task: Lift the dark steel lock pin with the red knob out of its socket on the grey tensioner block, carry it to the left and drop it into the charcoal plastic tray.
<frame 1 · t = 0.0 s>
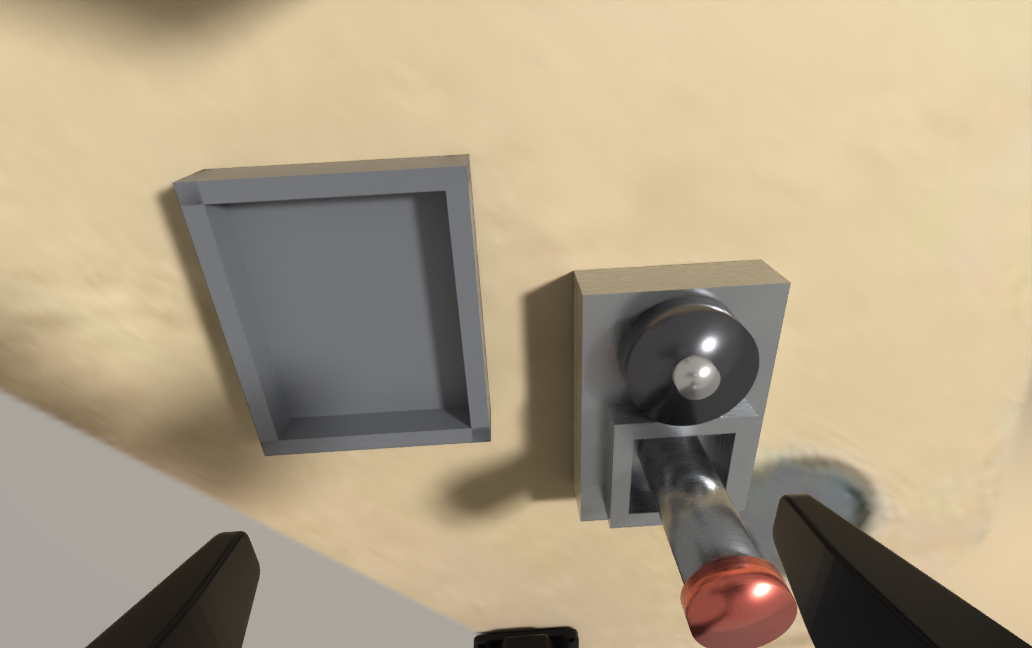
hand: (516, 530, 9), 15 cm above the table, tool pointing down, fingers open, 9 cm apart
tray: (364, 305, 23), on the table
tensioner block: (657, 383, 26), on the table
lock pin: (669, 451, 24), point 2 cm above the table, touching tensioner block
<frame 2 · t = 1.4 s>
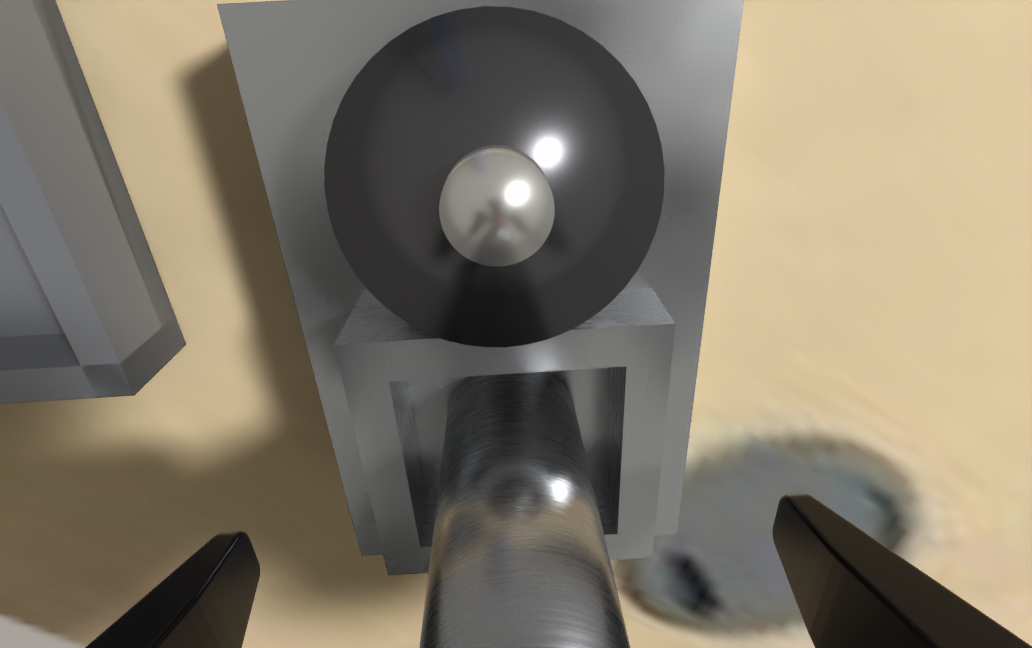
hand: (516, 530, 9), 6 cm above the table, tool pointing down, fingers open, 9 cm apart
tensioner block: (503, 288, 13), on the table
lock pin: (511, 417, 12), point 2 cm above the table, touching tensioner block
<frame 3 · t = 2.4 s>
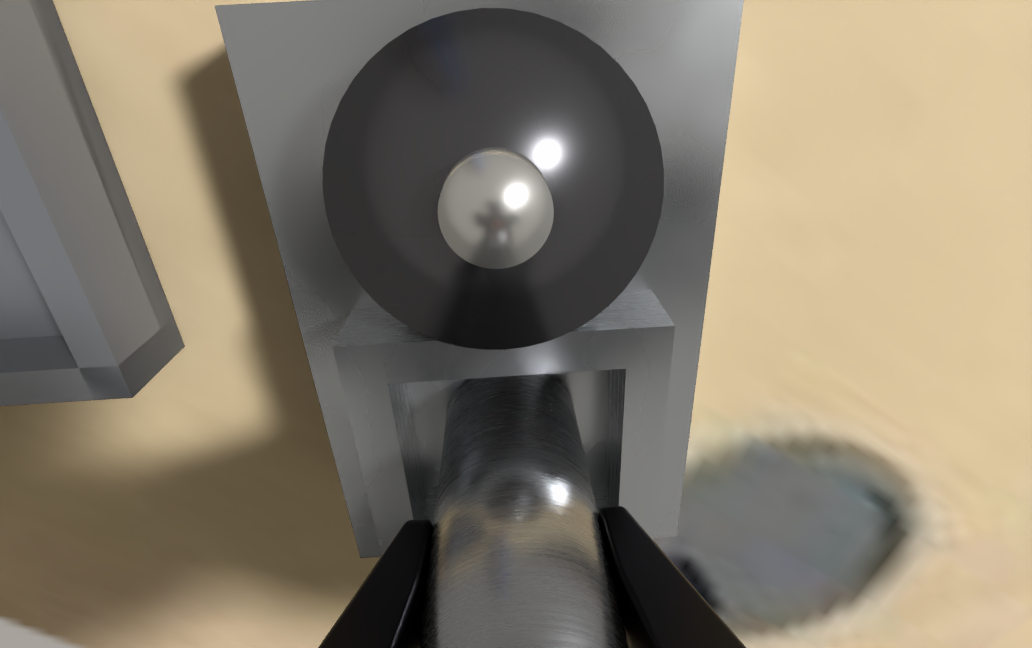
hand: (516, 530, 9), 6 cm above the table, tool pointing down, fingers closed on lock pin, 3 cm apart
tensioner block: (503, 289, 13), on the table
lock pin: (510, 419, 12), point 2 cm above the table, touching gripper, tensioner block
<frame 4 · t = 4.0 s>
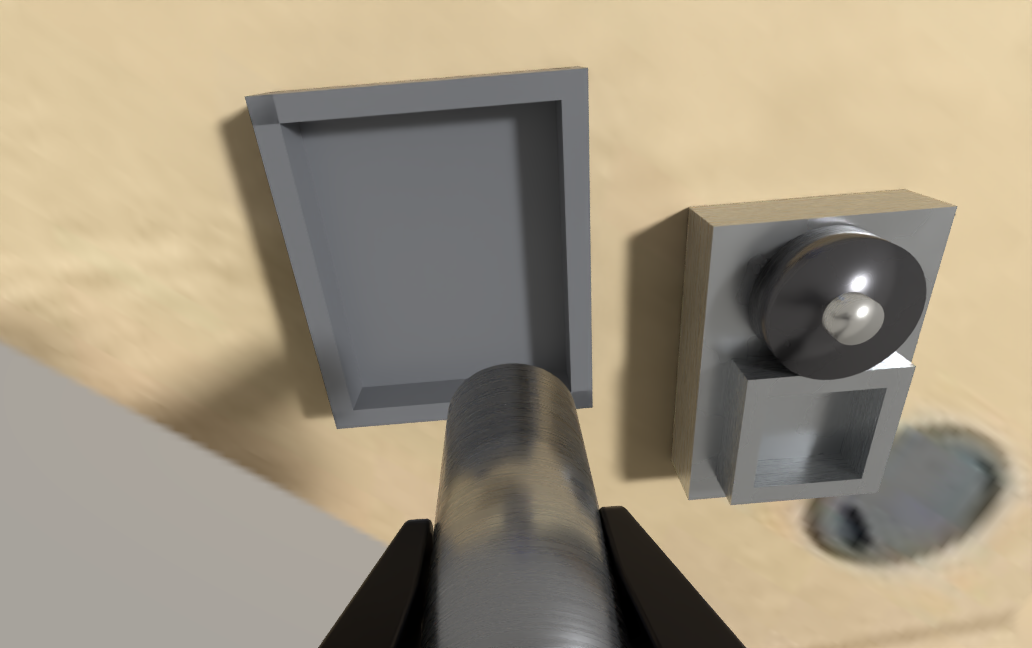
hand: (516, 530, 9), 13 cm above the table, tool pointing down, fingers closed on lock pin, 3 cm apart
tray: (448, 253, 20), on the table
tensioner block: (774, 341, 23), on the table
lock pin: (512, 418, 12), point 10 cm above the table, touching gripper
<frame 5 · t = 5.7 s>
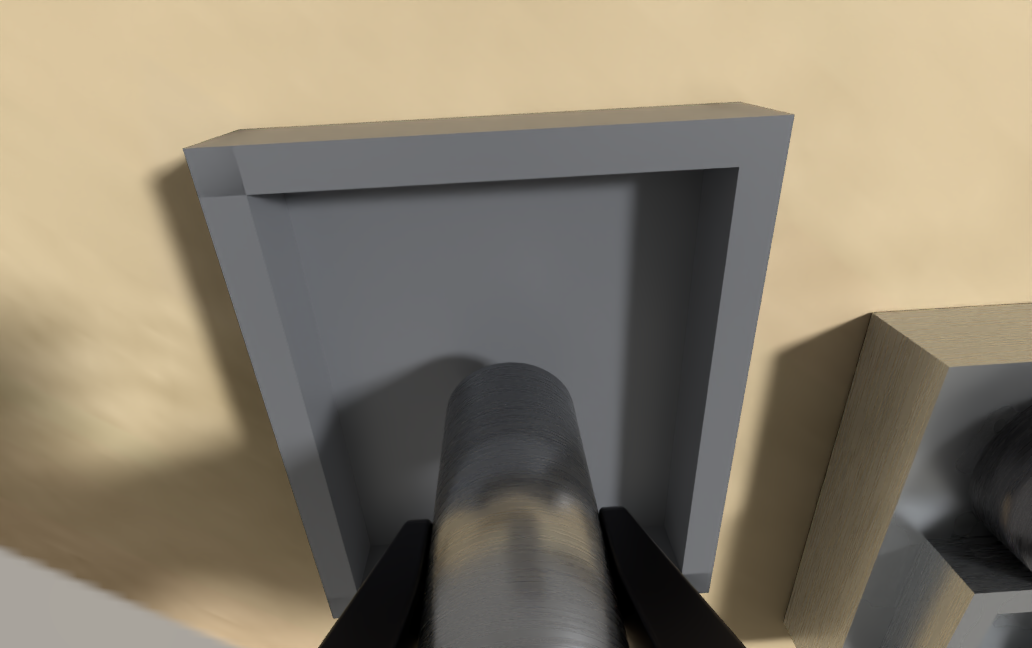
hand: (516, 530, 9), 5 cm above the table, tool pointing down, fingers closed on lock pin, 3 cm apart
tray: (507, 370, 14), on the table
tensioner block: (953, 485, 16), on the table
lock pin: (510, 417, 12), point 2 cm above the table, touching gripper
when the fingers open (5 cm above the table, at t = 5.9 s): lock pin drops 1 cm, resting on tray.
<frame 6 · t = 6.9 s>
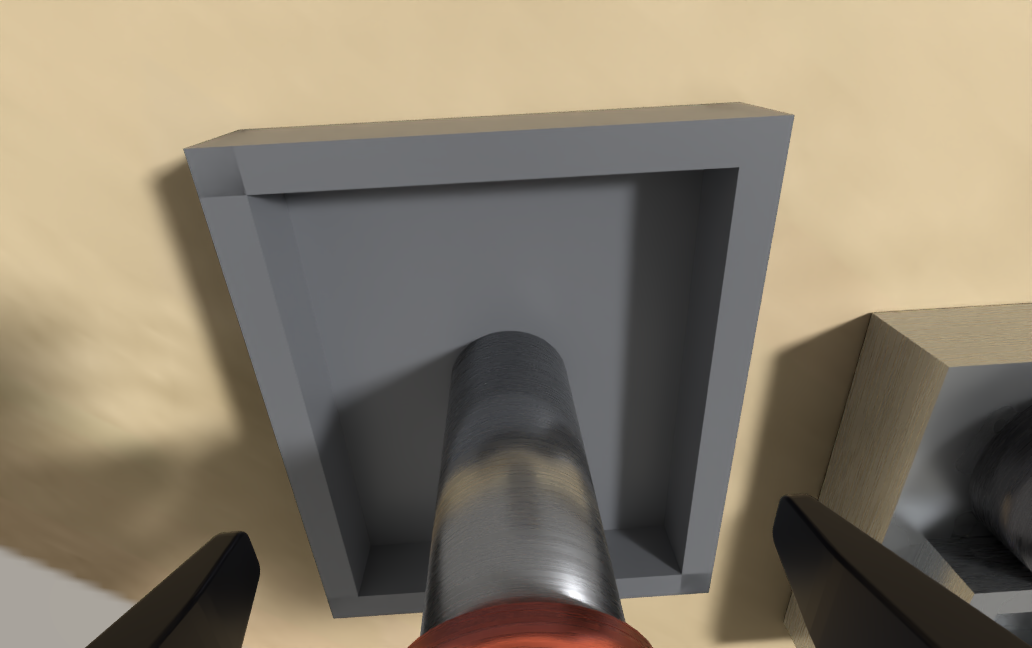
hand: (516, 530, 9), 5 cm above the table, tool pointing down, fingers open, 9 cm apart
tray: (507, 370, 14), on the table
tensioner block: (953, 485, 16), on the table
lock pin: (509, 382, 13), point 1 cm above the table, touching tray
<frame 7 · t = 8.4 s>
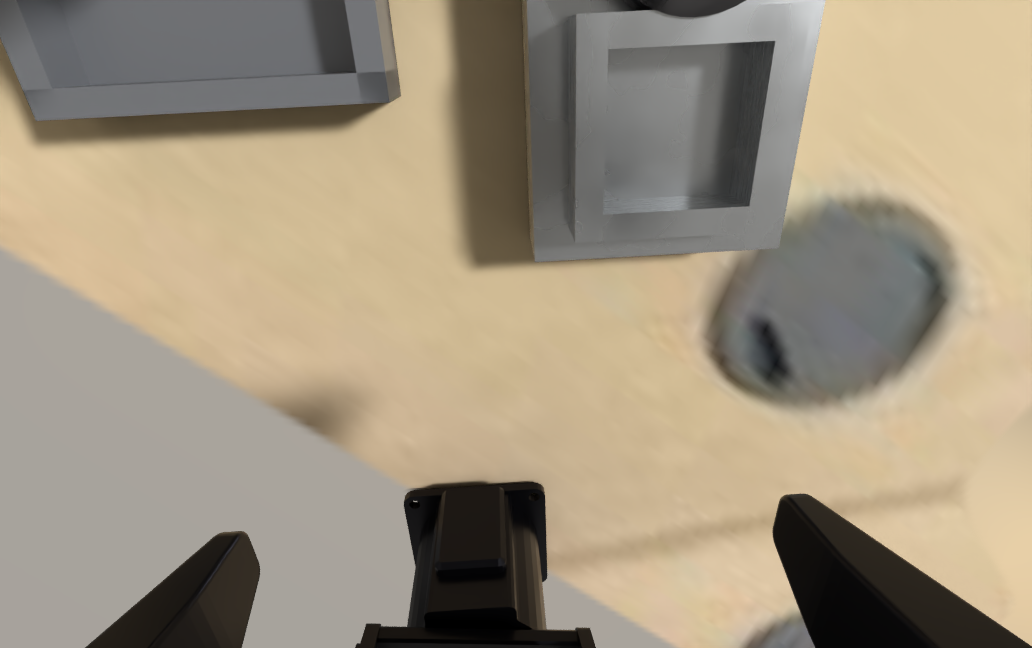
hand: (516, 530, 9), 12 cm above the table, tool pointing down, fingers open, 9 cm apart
tensioner block: (649, 48, 17), on the table
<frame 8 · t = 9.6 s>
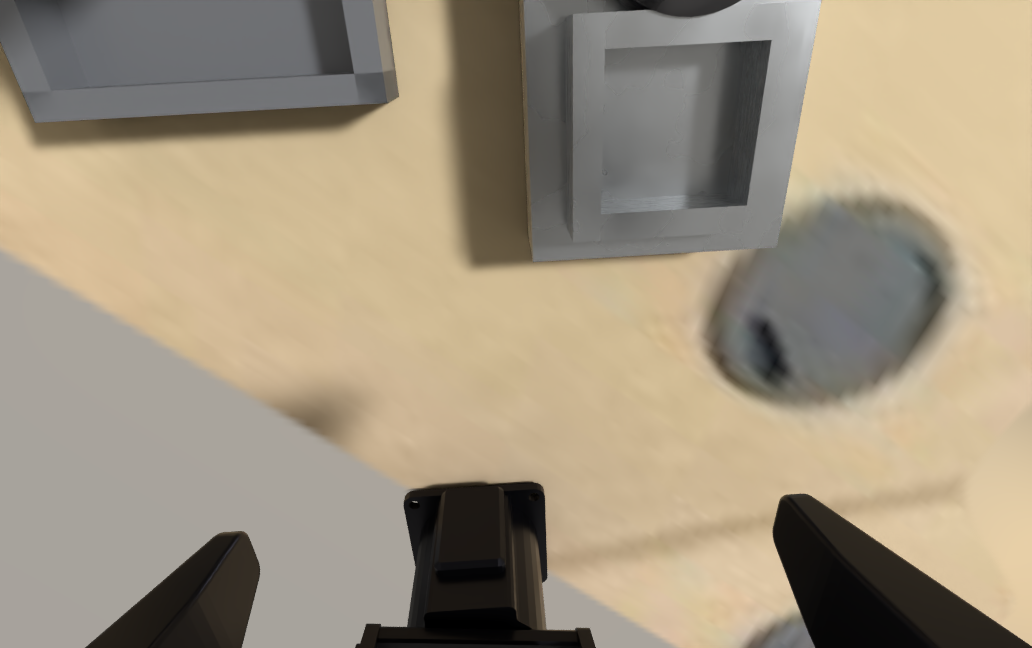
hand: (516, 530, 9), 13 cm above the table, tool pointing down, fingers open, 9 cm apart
tensioner block: (647, 48, 17), on the table
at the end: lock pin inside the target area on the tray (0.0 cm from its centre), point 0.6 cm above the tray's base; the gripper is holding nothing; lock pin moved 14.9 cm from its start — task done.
